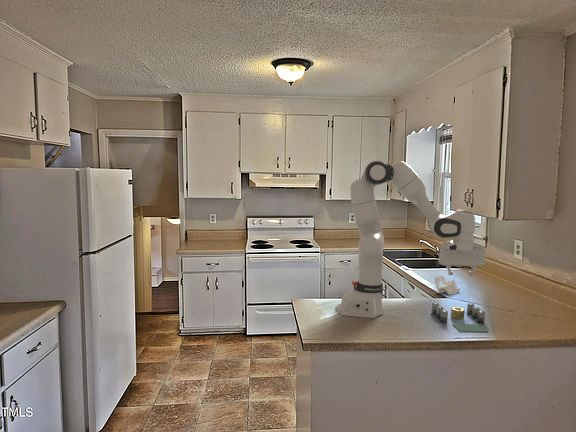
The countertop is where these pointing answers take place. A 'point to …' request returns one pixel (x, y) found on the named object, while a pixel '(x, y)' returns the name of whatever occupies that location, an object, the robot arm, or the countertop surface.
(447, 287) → the mounting bracket
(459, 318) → the brass nut
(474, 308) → the spacer rows
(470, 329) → the rubber mat
